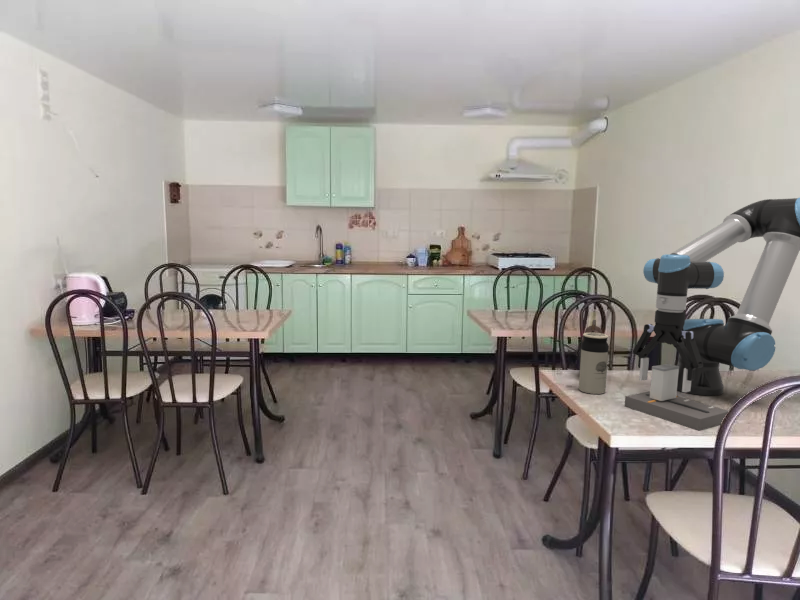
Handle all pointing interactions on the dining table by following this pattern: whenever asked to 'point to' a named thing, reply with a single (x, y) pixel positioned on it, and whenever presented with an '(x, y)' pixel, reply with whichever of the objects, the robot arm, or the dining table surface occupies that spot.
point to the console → (678, 410)
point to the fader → (664, 382)
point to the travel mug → (593, 363)
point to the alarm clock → (591, 331)
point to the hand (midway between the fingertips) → (663, 385)
